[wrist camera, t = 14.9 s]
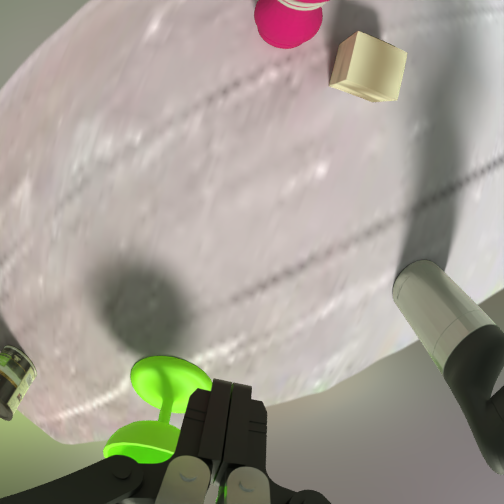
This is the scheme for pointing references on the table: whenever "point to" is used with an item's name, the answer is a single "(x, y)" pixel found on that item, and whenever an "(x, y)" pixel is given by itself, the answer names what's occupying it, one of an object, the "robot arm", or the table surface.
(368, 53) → the pale yellow cube-like block
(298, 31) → the pepper mill
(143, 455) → the wineglass
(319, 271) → the table surface
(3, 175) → the table surface
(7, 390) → the coffee can
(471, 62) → the table surface
